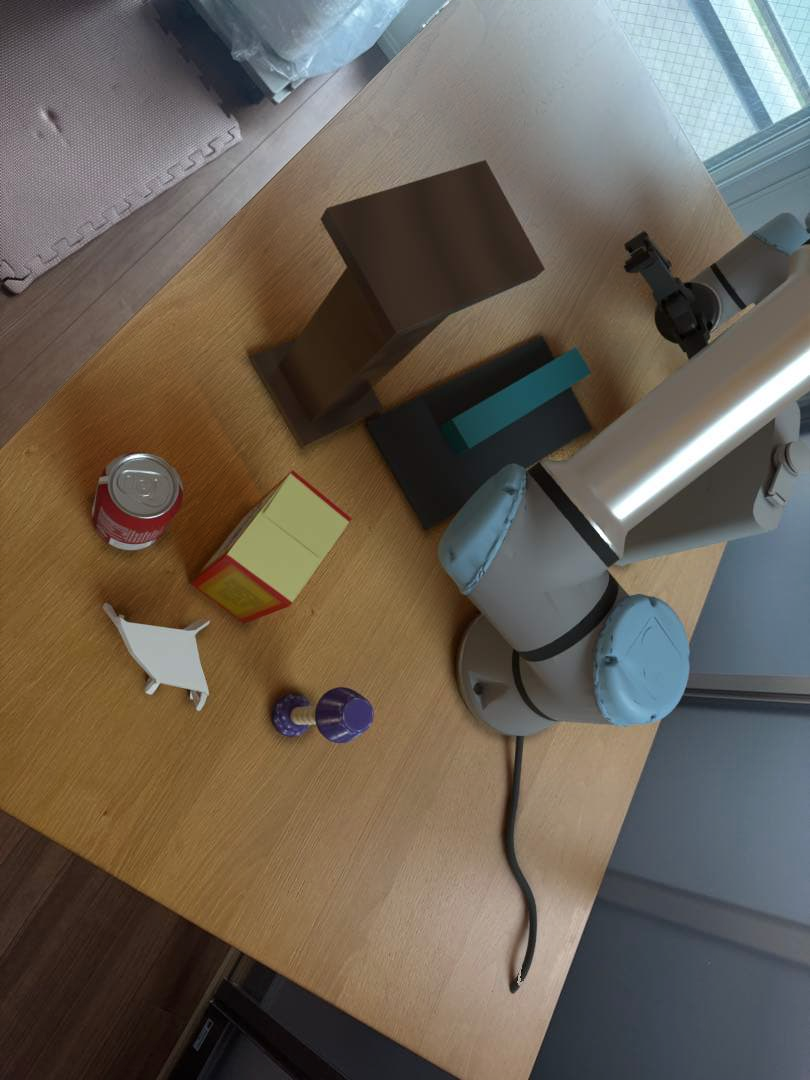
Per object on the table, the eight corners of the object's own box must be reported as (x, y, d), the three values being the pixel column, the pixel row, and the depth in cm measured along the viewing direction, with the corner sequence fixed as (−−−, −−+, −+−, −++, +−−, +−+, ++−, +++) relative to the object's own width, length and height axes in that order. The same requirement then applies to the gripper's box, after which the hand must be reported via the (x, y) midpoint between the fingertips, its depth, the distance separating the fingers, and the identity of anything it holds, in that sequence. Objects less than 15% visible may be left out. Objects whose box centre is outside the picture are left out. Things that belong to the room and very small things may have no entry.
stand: (348, 320, 85) (482, 153, 59) (395, 403, 85) (548, 274, 59) (229, 368, 77) (322, 201, 51) (281, 458, 78) (400, 339, 52)
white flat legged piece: (232, 634, 72) (244, 630, 68) (194, 715, 69) (204, 716, 65) (116, 581, 68) (121, 573, 64) (71, 663, 65) (73, 661, 61)
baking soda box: (243, 623, 73) (291, 605, 59) (190, 584, 71) (225, 555, 57) (296, 550, 77) (353, 517, 62) (247, 511, 75) (293, 468, 61)
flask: (629, 573, 96) (802, 535, 74) (603, 556, 95) (772, 513, 73) (660, 465, 102) (828, 401, 80) (636, 448, 101) (800, 378, 79)
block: (562, 356, 97) (576, 346, 95) (577, 382, 98) (591, 373, 95) (439, 427, 87) (451, 418, 84) (456, 456, 87) (469, 448, 84)
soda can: (155, 560, 70) (174, 535, 60) (81, 540, 68) (88, 511, 57) (174, 495, 72) (196, 460, 62) (103, 474, 70) (113, 433, 59)
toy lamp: (283, 681, 73) (342, 677, 59) (323, 699, 75) (391, 699, 60) (264, 727, 72) (320, 735, 57) (306, 744, 73) (371, 756, 58)
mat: (539, 337, 97) (542, 335, 97) (590, 429, 98) (592, 428, 97) (364, 423, 83) (366, 422, 82) (424, 530, 84) (427, 529, 83)
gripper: (705, 411, 97) (689, 441, 79) (615, 244, 95) (578, 235, 77) (763, 382, 93) (760, 407, 75) (670, 207, 91) (644, 189, 73)
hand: (667, 319), depth 76 cm, fingers open, 13 cm apart
